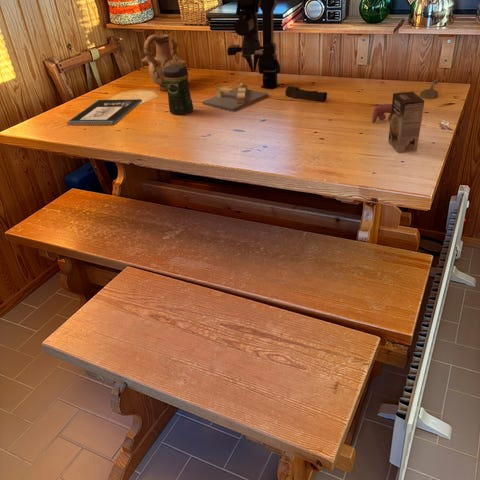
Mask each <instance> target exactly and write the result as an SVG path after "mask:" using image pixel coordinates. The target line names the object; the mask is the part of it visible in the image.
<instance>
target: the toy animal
mask: <svg viewBox="0 0 480 480" xmlns="http://www.w3.org/2000/svg"><path fill="white" fill-rule="evenodd" d="M391 110H392V103H391V104H390V103H384V104H379V105H377V106H375V108H374V109H373V112H372V119H371V120H372V124H375V123H376V122H377V119H379V120H380V121H381V122H383V121H384V120H386V117H387V119H388V121H390V120H391ZM386 113H387V114H388V113H389V115H388V116H386Z"/></svg>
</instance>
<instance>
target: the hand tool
mask: <svg viewBox="0 0 480 480" xmlns="http://www.w3.org/2000/svg"><path fill="white" fill-rule="evenodd" d="M284 92H285V93H284V94H285V96H286V97H288V98H292V99H306V100H311V101H316V102H317V101H318V102H319V101H320V102H321V103H325V102H327V98H328V93H327V92H326V91H323V92H322V91H318V90H317V91H316V90H306V89H301V88H300V87H298V86H293V85H292V86H291V85H288V86H287V87H286V88H285V91H284Z"/></svg>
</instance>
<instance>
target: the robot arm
mask: <svg viewBox="0 0 480 480" xmlns="http://www.w3.org/2000/svg"><path fill="white" fill-rule="evenodd" d="M277 5H278V0H237V2H236V11H235V16H238V17H237V18H238V19H237V20H236V21H235V22H234V26H233V27H234V28H233V30H234V32H235V34H237V35H238V36H240V37H242V38H243V40H242V43H241V46H240V44H230V45H229V46H228V47H227V50H226V52H227V56H236V55H237V54H238V53H241V55H240V56H241V57H242V58H244V59H245V61H246V62H247V64H248V67H249V69H250V72H251V73H255V72H256V69H257V67H258V74H260V75H261V74H262V84H261V86H260V87H261V88H264V89H268V90H269V89H270V90H273V89H275V88H277V87H279V86H281V84H280V83H278V74H280V73H281V65H280V62H279V60H278V55H277V44H276V42H274V11H275V9H276V8H277ZM259 10H260V11H261V13H262V14H261V15H262V19H261V20H262V45H261V42H260V38H259V24H258V14H259V12H260V11H259ZM252 55H253V56H252Z"/></svg>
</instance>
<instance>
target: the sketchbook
mask: <svg viewBox="0 0 480 480" xmlns="http://www.w3.org/2000/svg"><path fill="white" fill-rule="evenodd" d="M141 102H142V99H140V98H136V99H134V98H133V99H130V98H129V99H97V101H95V102H94V103H92V104H91V105H89V106H88V107H87V108H85V109H84V110H82V111H81V112H79V113H78V114H76V115H75V116H74V117H73V118H70V119H69V120H68V121H67V122H66V125H67V126H114V125H116V124H118V122H119V121H120V120H122V119H123V118H124V117H125V116H126V115H128V113H130V112H131V111H132V110H133V109H135V107H137V105H139V104H140V103H141Z"/></svg>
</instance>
